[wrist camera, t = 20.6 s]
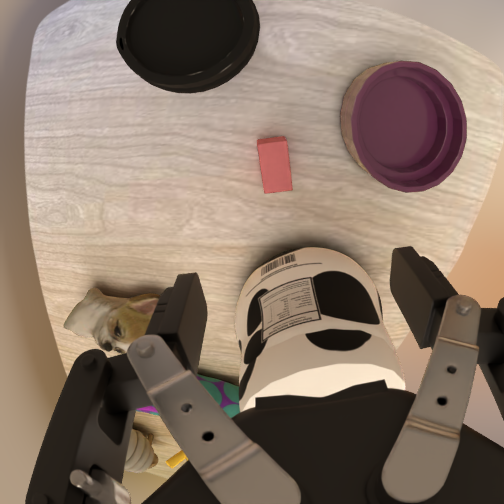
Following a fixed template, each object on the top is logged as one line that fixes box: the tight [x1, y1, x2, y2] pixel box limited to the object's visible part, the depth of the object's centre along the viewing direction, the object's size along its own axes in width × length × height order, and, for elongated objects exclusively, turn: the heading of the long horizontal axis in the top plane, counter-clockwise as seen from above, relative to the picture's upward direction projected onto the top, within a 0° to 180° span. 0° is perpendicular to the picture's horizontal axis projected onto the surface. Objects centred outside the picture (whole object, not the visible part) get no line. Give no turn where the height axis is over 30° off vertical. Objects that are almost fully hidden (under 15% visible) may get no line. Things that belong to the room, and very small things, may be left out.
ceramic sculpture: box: [64, 288, 160, 353], centre depth 38 cm, size 11×9×15 cm
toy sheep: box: [124, 428, 158, 473], centre depth 55 cm, size 11×17×11 cm, turn 42°
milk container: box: [235, 247, 405, 412], centre depth 32 cm, size 17×17×18 cm
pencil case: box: [136, 374, 240, 418], centre depth 45 cm, size 21×9×10 cm, turn 71°
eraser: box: [257, 136, 293, 194], centre depth 31 cm, size 5×3×3 cm, turn 8°
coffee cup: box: [116, 0, 260, 93], centre depth 20 cm, size 8×8×15 cm
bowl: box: [340, 61, 467, 193], centre depth 27 cm, size 13×13×4 cm
